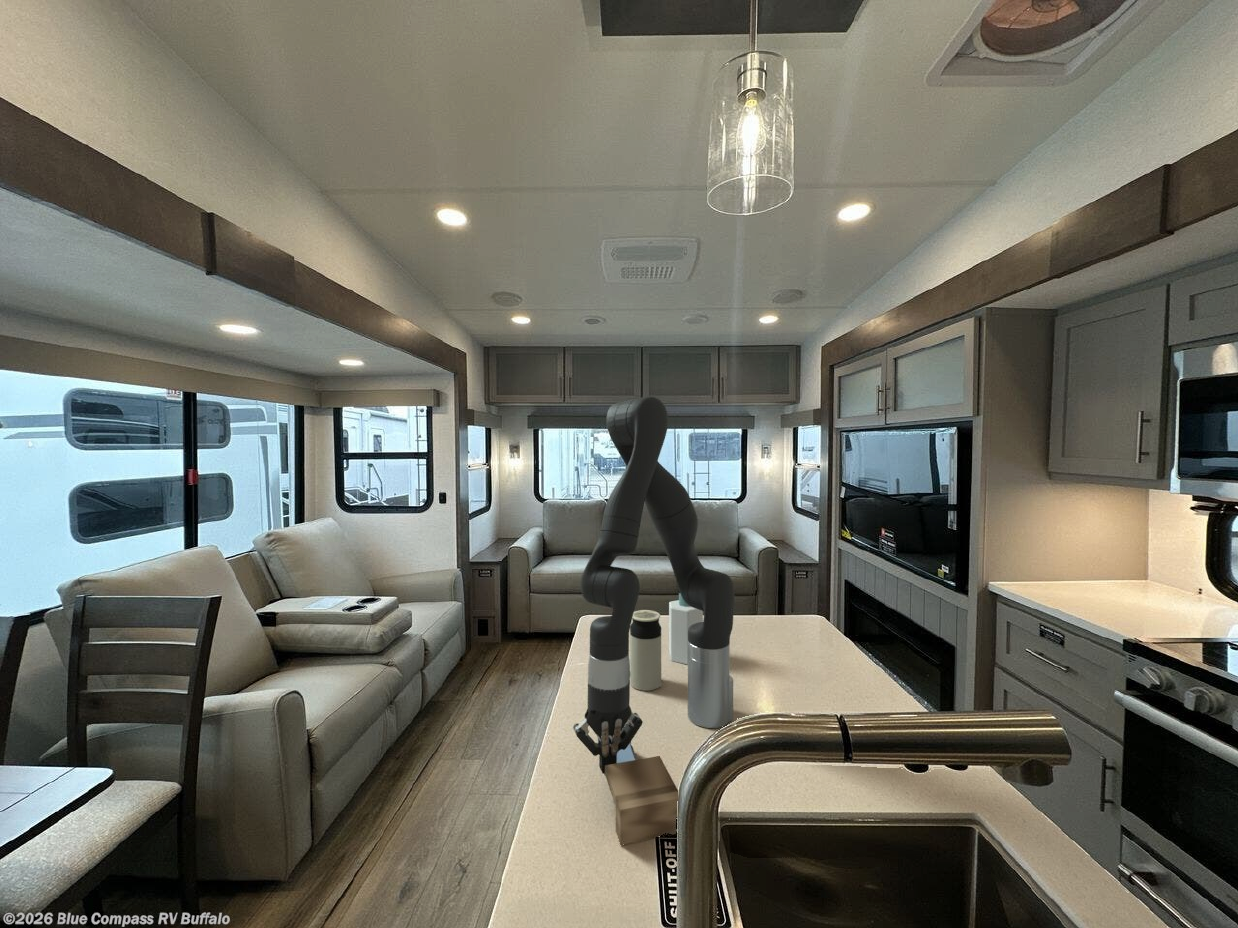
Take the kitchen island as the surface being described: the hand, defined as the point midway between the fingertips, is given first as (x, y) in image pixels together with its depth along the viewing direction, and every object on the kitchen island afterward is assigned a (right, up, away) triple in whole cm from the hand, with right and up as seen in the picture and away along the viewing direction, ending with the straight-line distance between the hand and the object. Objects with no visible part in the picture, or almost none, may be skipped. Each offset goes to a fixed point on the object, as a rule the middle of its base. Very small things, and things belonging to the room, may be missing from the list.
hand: (607, 772), depth 85 cm
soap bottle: (+21, -1, +52) cm, 57 cm away
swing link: (+3, -1, +2) cm, 4 cm away
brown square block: (+6, -2, -7) cm, 9 cm away
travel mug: (+9, -1, +37) cm, 38 cm away
